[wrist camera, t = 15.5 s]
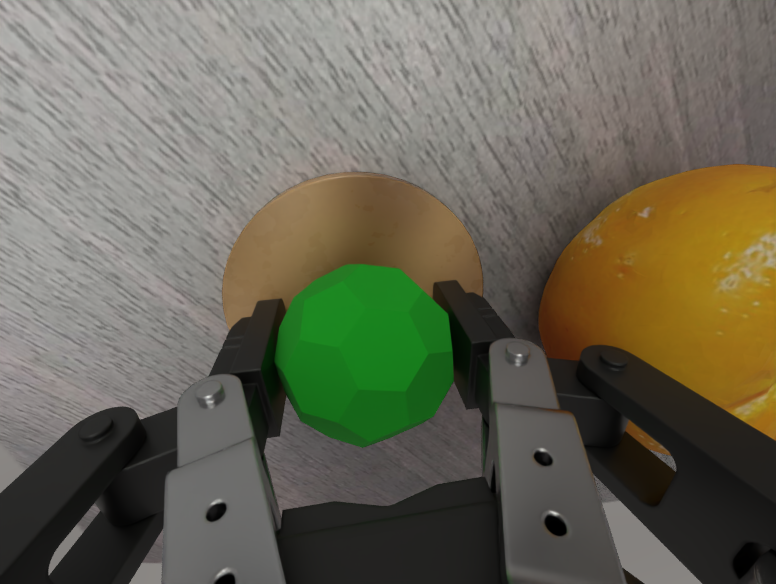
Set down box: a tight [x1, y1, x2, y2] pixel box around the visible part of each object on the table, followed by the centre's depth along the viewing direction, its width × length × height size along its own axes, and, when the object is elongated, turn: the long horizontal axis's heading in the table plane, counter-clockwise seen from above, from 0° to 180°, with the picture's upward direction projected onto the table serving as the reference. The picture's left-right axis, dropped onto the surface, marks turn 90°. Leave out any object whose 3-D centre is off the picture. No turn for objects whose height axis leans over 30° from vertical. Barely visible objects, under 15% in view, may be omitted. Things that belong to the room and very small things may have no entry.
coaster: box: [222, 172, 483, 330], centre depth 12 cm, size 9×9×1 cm
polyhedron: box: [274, 264, 454, 448], centre depth 10 cm, size 5×5×5 cm
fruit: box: [539, 164, 776, 455], centre depth 11 cm, size 8×8×8 cm
